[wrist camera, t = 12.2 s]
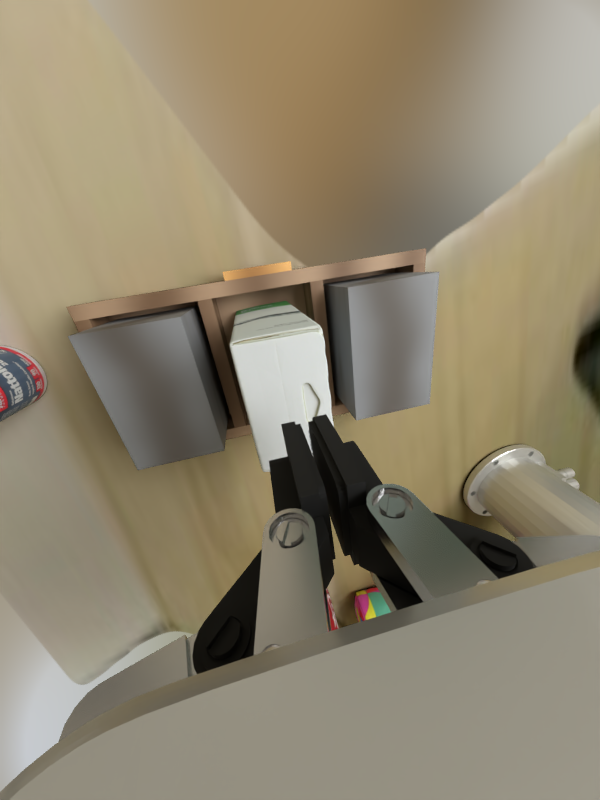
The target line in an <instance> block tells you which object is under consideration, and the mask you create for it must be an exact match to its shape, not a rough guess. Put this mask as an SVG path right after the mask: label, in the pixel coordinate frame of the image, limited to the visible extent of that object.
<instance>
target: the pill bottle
mask: <svg viewBox="0 0 600 800" xmlns="http://www.w3.org/2000/svg"><path fill="white" fill-rule="evenodd" d="M46 388H47V378H46V375H45V372H44V370H43V369H42V367H41V366H40V364H39V363H38V362H37V361H36V360H35V359H33V358H32V357H31V356H29V355H28V354H26V353H25V352H23V351H20V350H18V349H15V348H12V347H8V346H1V345H0V422H1V421H2V420H4V419H6V418H7V417H9V416H11V415H13V414H14V413H16V412H18V411H19V410H21V409H23V408H25V407H26V406H28V405H30V404H32V403H33V402H35V401H37V400H38V399H39V398H40V397H42V395H43V394H44V392H45V391H46Z"/></svg>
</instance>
